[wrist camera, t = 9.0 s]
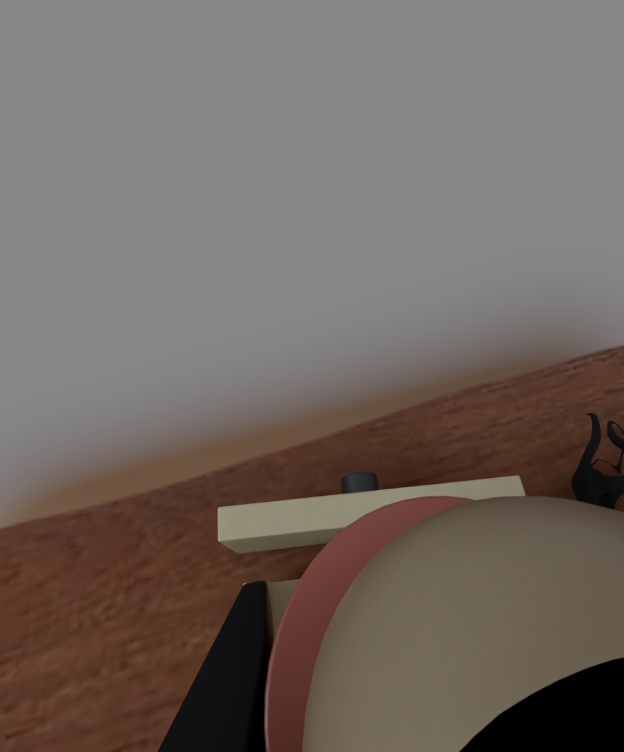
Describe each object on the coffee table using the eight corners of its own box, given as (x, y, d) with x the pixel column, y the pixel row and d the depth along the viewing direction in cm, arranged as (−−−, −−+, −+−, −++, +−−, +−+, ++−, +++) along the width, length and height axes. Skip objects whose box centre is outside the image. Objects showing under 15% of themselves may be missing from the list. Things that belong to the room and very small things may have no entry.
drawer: (235, 501, 21) (217, 474, 16) (462, 477, 22) (509, 445, 17) (244, 829, 15) (221, 937, 11) (544, 779, 16) (648, 858, 12)
